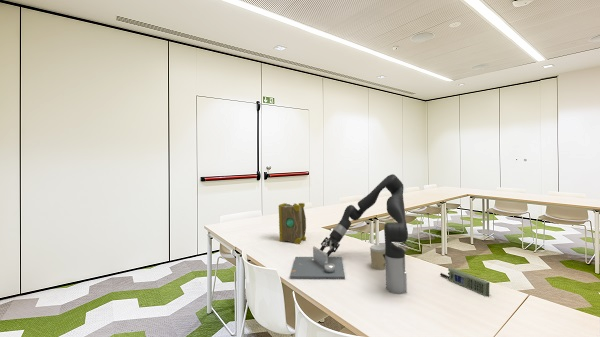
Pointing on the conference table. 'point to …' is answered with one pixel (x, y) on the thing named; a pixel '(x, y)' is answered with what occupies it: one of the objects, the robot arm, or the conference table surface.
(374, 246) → the coffee cup
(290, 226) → the decorative book
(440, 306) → the conference table surface
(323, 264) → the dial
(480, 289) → the handheld radio
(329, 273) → the dial plate
